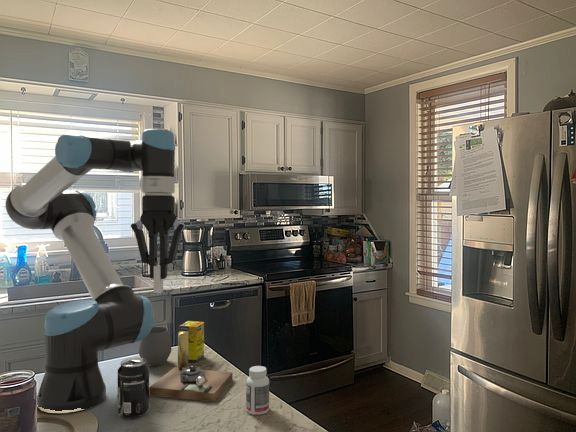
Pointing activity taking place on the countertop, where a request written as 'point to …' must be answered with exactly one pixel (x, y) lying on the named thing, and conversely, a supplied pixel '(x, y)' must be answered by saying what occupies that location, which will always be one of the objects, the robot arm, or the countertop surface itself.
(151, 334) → the cup
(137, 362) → the beverage can
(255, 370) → the pill bottle
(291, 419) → the countertop surface
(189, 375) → the crank handle
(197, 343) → the supplement box
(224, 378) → the stand
